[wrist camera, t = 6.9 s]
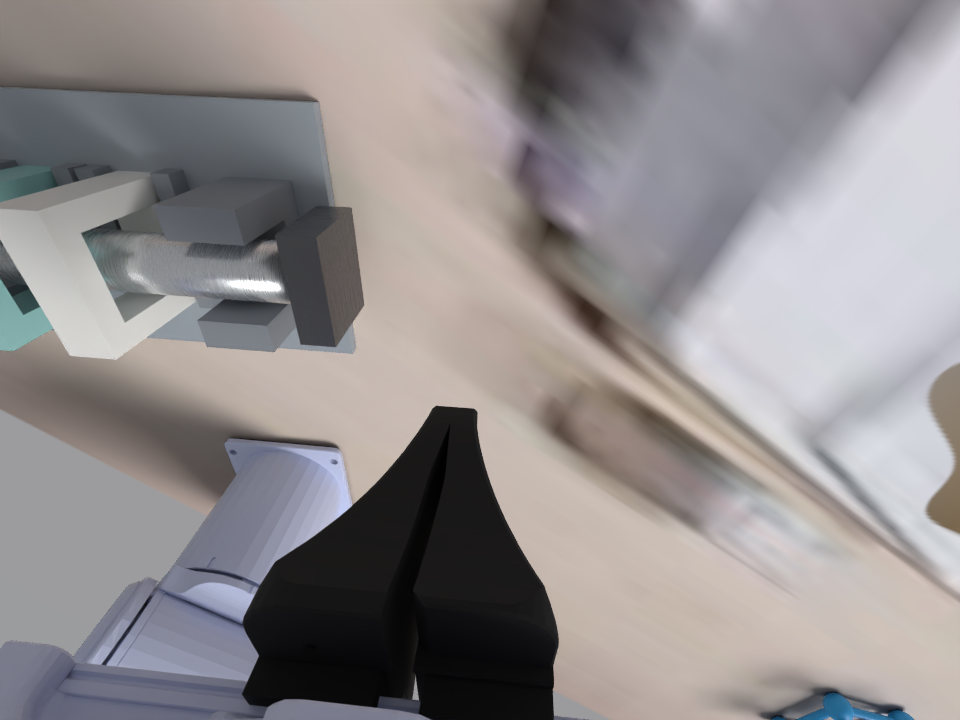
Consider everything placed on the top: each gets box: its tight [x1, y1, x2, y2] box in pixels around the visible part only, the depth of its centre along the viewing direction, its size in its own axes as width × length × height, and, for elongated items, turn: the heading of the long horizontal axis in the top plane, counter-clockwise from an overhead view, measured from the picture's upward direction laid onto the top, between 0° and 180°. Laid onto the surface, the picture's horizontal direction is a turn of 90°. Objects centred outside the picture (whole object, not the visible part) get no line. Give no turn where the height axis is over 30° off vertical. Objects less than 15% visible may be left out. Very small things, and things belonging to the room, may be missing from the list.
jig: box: [0, 87, 356, 354], centre depth 20 cm, size 12×20×5 cm, turn 88°
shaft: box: [0, 206, 364, 347], centre depth 19 cm, size 5×16×4 cm, turn 88°
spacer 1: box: [0, 165, 112, 351], centre depth 19 cm, size 6×2×6 cm, turn 178°
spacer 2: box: [0, 170, 197, 360], centre depth 19 cm, size 6×2×6 cm, turn 178°
